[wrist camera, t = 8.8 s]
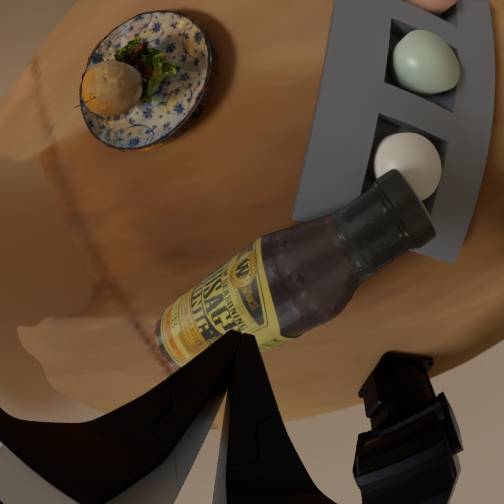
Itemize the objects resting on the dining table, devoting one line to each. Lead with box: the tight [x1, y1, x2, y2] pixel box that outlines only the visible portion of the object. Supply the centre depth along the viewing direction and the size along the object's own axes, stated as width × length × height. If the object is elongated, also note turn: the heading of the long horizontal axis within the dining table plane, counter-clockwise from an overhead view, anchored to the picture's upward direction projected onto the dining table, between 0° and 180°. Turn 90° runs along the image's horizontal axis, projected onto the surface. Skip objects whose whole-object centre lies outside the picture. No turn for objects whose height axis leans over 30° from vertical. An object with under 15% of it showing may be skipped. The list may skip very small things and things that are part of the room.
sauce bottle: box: [154, 169, 437, 370], centre depth 17 cm, size 6×6×20 cm
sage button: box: [387, 30, 460, 97], centre depth 11 cm, size 4×4×3 cm
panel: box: [292, 0, 495, 264], centre depth 12 cm, size 12×24×3 cm, turn 170°
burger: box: [75, 10, 219, 152], centre depth 14 cm, size 12×12×8 cm
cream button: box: [368, 133, 441, 201], centre depth 14 cm, size 4×4×3 cm
